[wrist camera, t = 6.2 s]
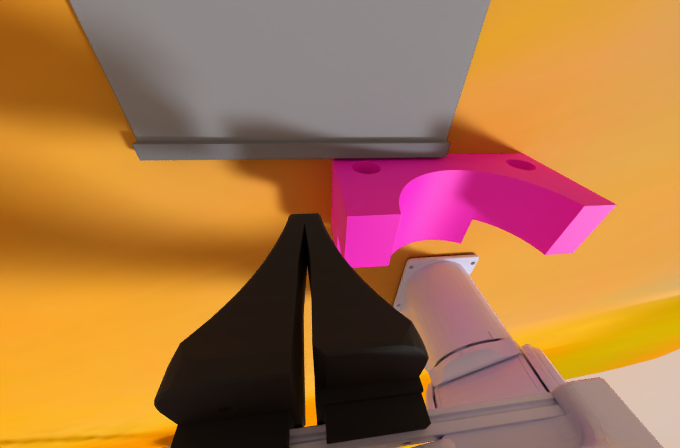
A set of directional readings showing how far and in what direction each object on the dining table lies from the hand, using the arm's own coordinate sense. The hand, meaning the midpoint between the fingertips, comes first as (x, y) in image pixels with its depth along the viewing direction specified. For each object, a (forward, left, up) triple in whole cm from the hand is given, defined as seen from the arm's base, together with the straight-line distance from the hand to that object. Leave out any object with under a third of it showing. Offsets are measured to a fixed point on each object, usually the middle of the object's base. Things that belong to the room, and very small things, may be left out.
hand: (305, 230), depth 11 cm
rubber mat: (+6, 0, -8) cm, 10 cm away
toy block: (-2, -10, -8) cm, 13 cm away
